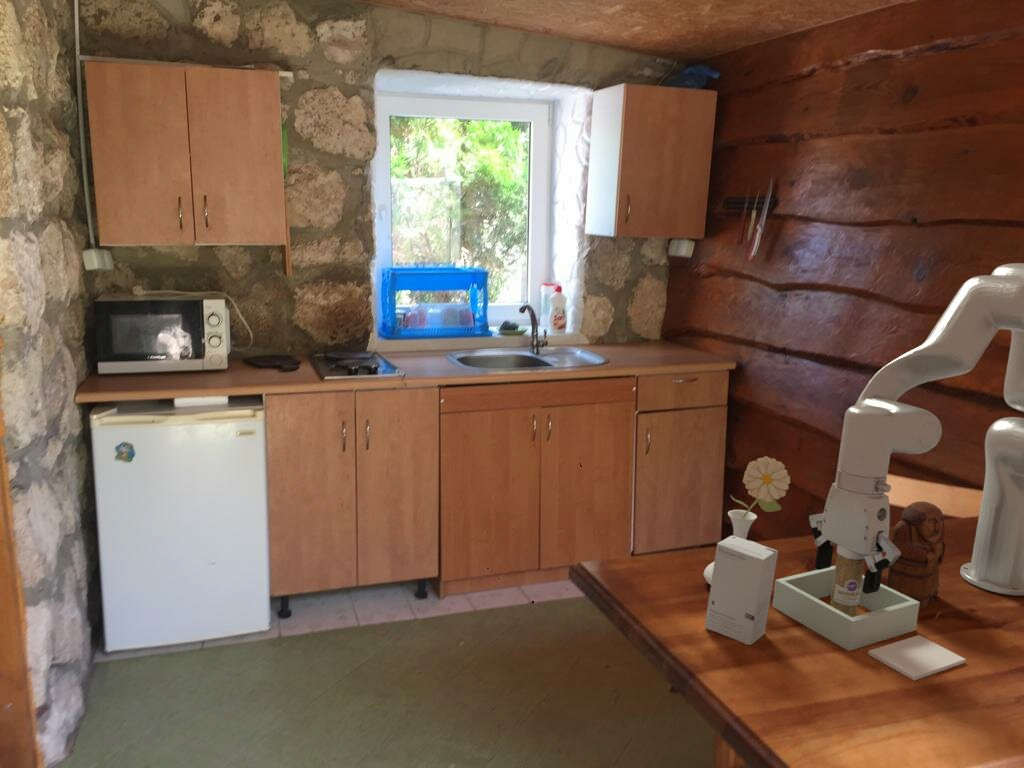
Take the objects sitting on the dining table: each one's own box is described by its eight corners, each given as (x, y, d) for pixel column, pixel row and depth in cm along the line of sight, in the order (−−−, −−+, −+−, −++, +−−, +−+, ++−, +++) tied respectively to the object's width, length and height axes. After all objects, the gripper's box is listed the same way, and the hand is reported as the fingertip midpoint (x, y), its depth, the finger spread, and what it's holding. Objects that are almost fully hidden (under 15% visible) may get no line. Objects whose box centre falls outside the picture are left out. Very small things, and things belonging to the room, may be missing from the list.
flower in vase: (697, 592, 147) (710, 457, 142) (708, 568, 158) (720, 441, 152) (774, 608, 143) (790, 469, 137) (779, 582, 153) (795, 452, 148)
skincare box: (704, 629, 134) (712, 542, 131) (721, 616, 139) (729, 532, 136) (753, 648, 129) (763, 558, 126) (769, 634, 134) (779, 547, 131)
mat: (918, 638, 134) (919, 635, 134) (965, 662, 128) (965, 659, 127) (868, 654, 129) (868, 650, 129) (914, 680, 122) (914, 676, 122)
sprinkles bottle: (838, 625, 137) (848, 549, 135) (822, 612, 142) (832, 538, 139) (862, 623, 138) (873, 548, 136) (846, 610, 143) (856, 537, 140)
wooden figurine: (914, 614, 142) (930, 515, 139) (878, 600, 147) (892, 504, 143) (944, 596, 150) (960, 502, 146) (909, 583, 155) (923, 491, 151)
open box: (836, 590, 151) (840, 564, 150) (915, 630, 137) (919, 602, 136) (772, 606, 143) (775, 579, 142) (848, 650, 129) (852, 621, 128)
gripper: (923, 496, 129) (906, 598, 133) (833, 464, 144) (820, 556, 148) (891, 501, 126) (874, 606, 129) (802, 468, 141) (790, 563, 144)
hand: (845, 579), depth 138 cm, fingers open, 9 cm apart
